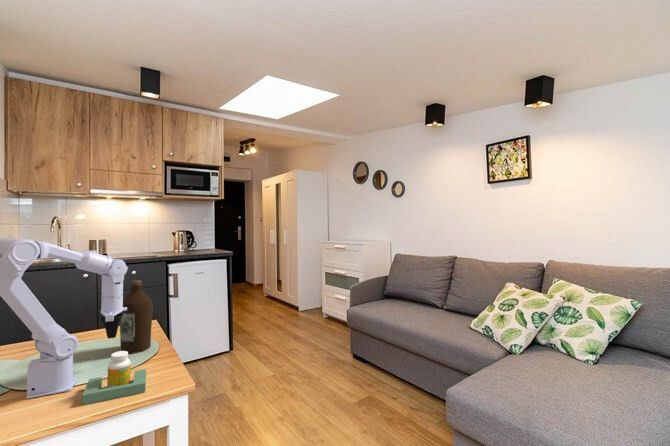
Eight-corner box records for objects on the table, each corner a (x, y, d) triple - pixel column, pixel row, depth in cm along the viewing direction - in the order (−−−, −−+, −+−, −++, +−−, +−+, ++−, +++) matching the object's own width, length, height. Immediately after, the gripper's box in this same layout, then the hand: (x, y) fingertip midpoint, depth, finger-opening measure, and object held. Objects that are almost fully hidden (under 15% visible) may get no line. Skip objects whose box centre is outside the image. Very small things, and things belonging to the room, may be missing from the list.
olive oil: (136, 341, 126) (137, 277, 126) (159, 345, 123) (159, 279, 123) (111, 352, 116) (111, 282, 116) (134, 356, 113) (135, 284, 113)
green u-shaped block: (82, 405, 84) (82, 395, 84) (89, 387, 92) (89, 379, 92) (145, 391, 91) (145, 383, 91) (146, 377, 99) (146, 368, 99)
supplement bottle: (118, 393, 89) (119, 358, 89) (102, 390, 91) (103, 356, 90) (134, 384, 95) (135, 351, 94) (118, 381, 96) (119, 348, 96)
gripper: (125, 299, 101) (124, 343, 101) (128, 289, 113) (128, 328, 114) (97, 301, 97) (96, 347, 98) (104, 291, 110) (103, 331, 110)
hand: (111, 337), depth 105 cm, fingers closed
